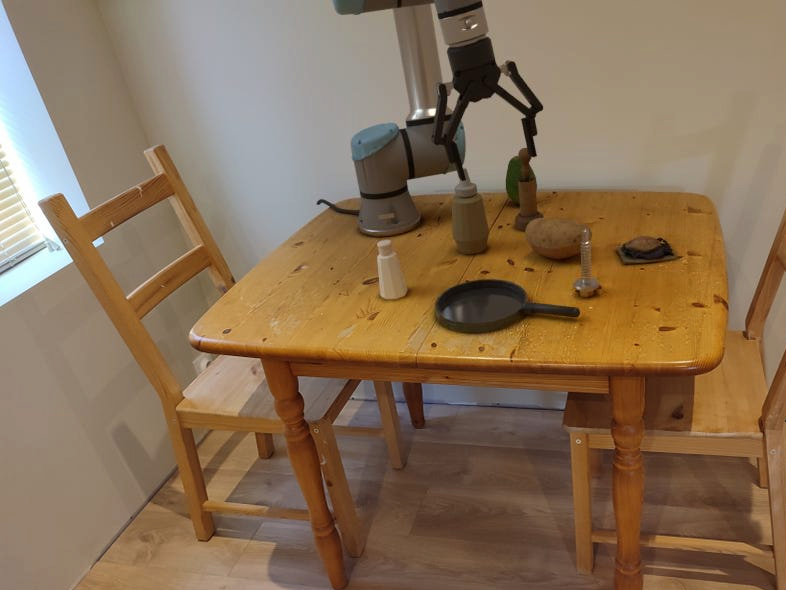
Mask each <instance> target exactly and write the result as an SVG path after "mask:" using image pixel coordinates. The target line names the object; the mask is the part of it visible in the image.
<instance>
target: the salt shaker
mask: <svg viewBox="0 0 786 590" xmlns="http://www.w3.org/2000/svg"><path fill="white" fill-rule="evenodd" d="M392 244H393V242H392V241H391V240H390V239H381V240H380V241H378V242H377V244H376V246H377V249H378V254H377V256H376V259H377V260H376V261H377V271H378V273H377V274H378V285H379V294H380V295H379V296H381V298H383V299H384V300H398V299H401V298H402V297H405V296H406V294H407V293H408V287H407V284H406V281H405V277H404V274H403V271H402V267H401V264H400V261H399V257H398V255H397V253H396V251H394V250H393V245H392Z"/></svg>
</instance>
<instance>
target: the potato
mask: <svg viewBox="0 0 786 590" xmlns="http://www.w3.org/2000/svg"><path fill="white" fill-rule="evenodd" d="M585 228H586V229H589V240H590V242H591V241H592V237H593V232H592V229H591V228H590V227H589V226H587V224H584V223H582V222H579V221H573V220H569V219H562V218H550V217H549V218H548V217H543V218H538V219H534V220H532V221H530V222H529V224H528V225H527V227H526V231H524V236H525V240H526V242H527V244H528V245H529V246H530V248H532V251H534V252H536V254H537V253H538V254H539V255H540V256H543V257H546V258H548V259H552V260H563V259H567V258H570V257H574V256H577V255H578V254H580V253H581V245H582V244H581V242H582V230H583V229H585Z"/></svg>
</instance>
